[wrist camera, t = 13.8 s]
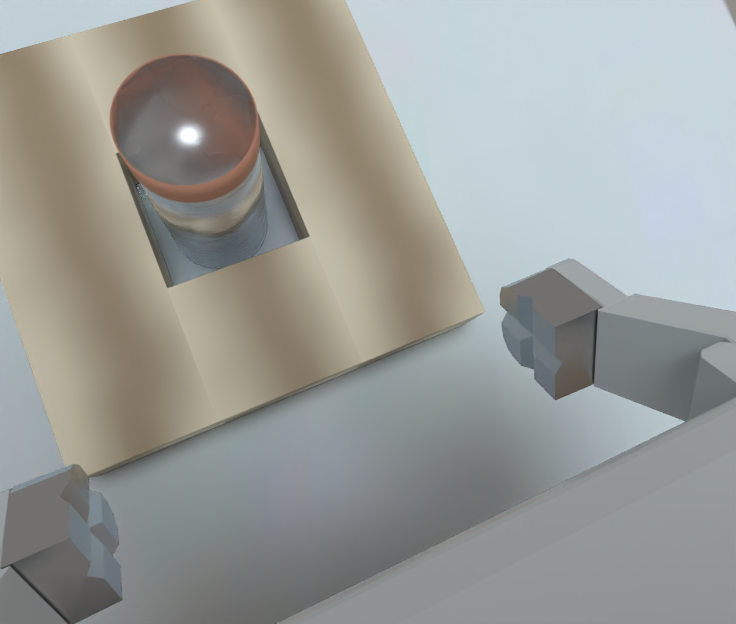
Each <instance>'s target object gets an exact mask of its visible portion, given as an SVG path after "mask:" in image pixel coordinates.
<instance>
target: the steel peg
mask: <svg viewBox="0 0 736 624" xmlns="http://www.w3.org/2000/svg"><path fill="white" fill-rule="evenodd" d="M110 130H111V135H112V138H113V141H114V144H115V146H116V148H117V150H118V152H119V153H120V155H121V156H122V158H123V160H124V161H125V163H126V165H127V166H128V168H129V169H130V171H131V172H132V174H133V175H134V177H135V178H136V179H137V180H138V181H139V183H140V184H141V186H142V188H143V189H144V191H145V193H146V194H147V196H148V198H149V199H150V201H151V203H152V204H153V206H154V207H155V209H156V211H157V212H158V214H159V216H160V217H161V219H162V221H163V222H164V224H165V226H166V227H167V229H168V231H169V232H170V234H171V236H172V237H173V239H174V240H175V242H176V244H177V245H178V247H179V248H180V250H181V251H182V252H183V253H184V255H186V256H187V257H188V258H189V259H191V260H192V261H193V262H195V263H197V264H199V265H202V266H205V267H209V268H216V269H222V268H225V267H228V266H230V265H233V264H236V263H239V262H241V261H244V260H247V259H250V258H251V257H252V256H253V255H254V254H255V253H256V252H257V251H258V250H259V248H260V247H261V245H262V244H263V242H264V239H265V237H266V233H267V212H266V203H265V193H264V184H263V175H262V165H261V156H260V130H259V120H258V112H257V107H256V103H255V101H254V98H253V96H252V94H251V92H250V90H249V88H248V87H247V85H246V84H245V82H244V81H243V80H242V79H241V78H240V77H239V76H238V75H237V74H236V73H235V72H234V71H233V70H231V69H230V68H228V67H227V66H225V65H224V64H222V63H220V62H218V61H216V60H213V59H211V58H208V57H204V56H200V55H194V54H172V55H166V56H162V57H158V58H155V59H153V60H150V61H148V62H146V63H144V64H142V65H141V66H139V67H138V68H136V69H135V70H134V71H133V72H132V73H130V74H129V75H128V76H127V77H126V79H125V80H124V81H123V82H122V83H121V85H120V86H119V88H118V89H117V91H116V94H115V96H114V98H113V101H112V104H111V109H110Z"/></svg>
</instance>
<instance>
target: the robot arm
mask: <svg viewBox="0 0 736 624" xmlns="http://www.w3.org/2000/svg"><path fill="white" fill-rule="evenodd" d="M500 305H501V306H502V307H503V308H504V309H505V310H506V311H507V313H506V315H505V317H504V319H503V321H502V331H503V337H504V340H505V343H506V345H507V348H508V350H509V351H510V353H511V354H512V356H513V357H514V358H515V360H516V361H517V362H518V363H519V364H520V365H521V366H525V367H528V368H532V369H534V379H535V380H536V381H537V382H538V383H539V384H540V385H541V386H542V387H543V388H544V390H545V391H546V392H547V393H548V394H549V395H550V396H551V397H552V398H553V399H554V400H557V399H560V398H562V397H564V396H567V395H569V394H571V393H574V392H576V391H578V390H581V389H583V388H585V387H588V386H590V385H592V384H594V386H595V387H598V388H600V389H603V390H606V391H608V392H611V393H613V394H616V395H618V396H621V397H624V398H626V399H629V400H631V401H634V402H637V403H639V404H642V405H644V406H647V407H650V408H652V409H655V410H657V411H660V412H663V413H665V414H668V415H670V416H673V417H675V418H678V419H681V420H683V421H686V422H684V423H682V424H680V425H678V426H676V427H674V428H672V429H670V430H668V431H666V432H664V433H662V434H660V435H658V436H656V437H654V438H652V439H649V440H647V441H645V442H643V443H641V444H639V445H637V446H635V447H633V448H631V449H629V450H627V451H625V452H623V453H621V454H619V455H617V456H615V457H613V458H611V459H609V460H607V461H605V462H603V463H601V464H599V465H597V466H595V467H593V468H591V469H589V470H586V471H584V472H582V473H580V474H578V475H576V476H574V477H572V478H570V479H568V480H566V481H564V482H562V483H560V484H558V485H556V486H554V487H552V488H550V489H548V490H546V491H544V492H542V493H540V494H538V495H536V496H534V497H532V498H530V499H528V500H526V501H524V502H522V503H520V504H518V505H516V506H514V507H512V508H509V509H507V510H505V511H503V512H501V513H499V514H497V515H495V516H493V517H491V518H489V519H487V520H485V521H483V522H481V523H479V524H477V525H475V526H473V527H471V528H469V529H467V530H465V531H463V532H461V533H459V534H457V535H455V536H453V537H451V538H449V539H447V540H445V541H443V542H441V543H438V544H436V545H434V546H432V547H430V548H428V549H426V550H424V551H422V552H420V553H418V554H416V555H414V556H412V557H410V558H408V559H406V560H404V561H402V562H400V563H398V564H396V565H394V566H392V567H390V568H388V569H386V570H384V571H382V572H380V573H378V574H376V575H373V576H371V577H369V578H367V579H365V580H363V581H361V582H359V583H357V584H355V585H353V586H351V587H349V588H347V589H345V590H343V591H341V592H339V593H337V594H335V595H333V596H331V597H329V598H327V599H325V600H323V601H321V602H319V603H317V604H315V605H313V606H311V607H308V608H306V609H304V610H302V611H300V612H298V613H296V614H294V615H292V616H290V617H288V618H286V619H284V620H282V621H280V622H278V623H276V624H736V312H733V311H728V310H722V309H716V308H711V307H705V306H700V305H694V304H688V303H683V302H677V301H672V300H666V299H660V298H655V297H649V296H644V295H638V294H633V295H631V296H629V297H628V296H626V295H625V294H624V293H622V292H621V291H619V290H618V289H616V288H615V287H614V286H612V285H611V284H609V283H608V282H606V281H605V280H604V279H602V278H601V277H599V276H598V275H596V274H595V273H593V272H592V271H591V270H589V269H588V268H586V267H585V266H583V265H582V264H581V263H579V262H578V261H576V260H574V259H566V260H564V261H562V262H559V263H557V264H555V265H553V266H550V267H548V268H546V269H545V270H542V271H540V272H537V273H535V274H533V275H530V276H528V277H526V278H523V279H521V280H518V281H516V282H514V283H511V284H509V285H507V286H504V287H502V288H501V292H500ZM118 545H119V538H118V529H117V525H116V522H115V518H114V515H113V512H112V510H111V508H110V506H109V504H108V502H107V501H106V499H105V498H104V497H103V495H102V494H101V493H99V492H96V491H92V490H89V476H88V475H87V474H86V473H85V471H84V470H83V469H82V468H81V467H80V465H77V464H72V465H69V466H67V467H64V468H61V469H59V470H56V471H54V472H51V473H49V474H46V475H43V476H41V477H38V478H36V479H33V480H31V481H28V482H25V483H23V484H20V485H18V486H15V487H13V488H12V489H9V490H6V491H4V492H1V493H0V624H75V623H77V622H79V621H81V620H83V619H85V618H87V617H89V616H91V615H93V614H95V613H97V612H99V611H101V610H103V609H105V608H107V607H109V606H111V605H113V604H115V603H118V602H120V601H122V600H123V599H122V583H121V566H120V565H119V563H118V562H117V561H116V559H115V558H114V557H113V556H112V555H113V554H114V552H115V550H116V548H117V546H118Z"/></svg>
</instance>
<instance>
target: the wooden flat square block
mask: <svg viewBox="0 0 736 624" xmlns="http://www.w3.org/2000/svg"><path fill="white" fill-rule="evenodd" d="M172 54H194V55H200V56H204V57H208V58H211V59H213V60H216V61H218V62H220V63H222V64H224V65H225V66H227V67H228V68H230V69H231V70H233V71H234V72H235V73H236V74H237V75H238V76H239V77H240V78H241V79H242V80H243V81H244V82H245V84H246V85H247V87H248V88H249V90H250V92H251V94H252V96H253V98H254V101H255V103H256V107H257V112H258V120H259V130H260V145H261V147H262V150H263V152H264V154H265V157H266V159H267V162H268V164H269V166H270V169H271V171H272V174H273V176H274V178H275V181H276V183H277V186H278V188H279V190H280V193H281V195H282V198H283V200H284V203H285V205H286V207H287V210H288V212H289V215H290V217H291V219H292V222H293V224H294V227H295V229H296V231H297V234H298V236H299V239H300V240H299V241H296V242H294V243H291V244H288V245H285V246H283V247H280V248H277V249H274V250H272V251H269V252H266V253H263V254H261V255H258V256H255V257H252V258H250V259H247V260H244V261H241V262H239V263H236V264H233V265H230V266H228V267H225V268H222V269H219V270H216V271H214V272H211V273H208V274H205V275H203V276H200V277H197V278H194V279H192V280H189V281H186V282H183V283H181V284H178V285H175V286H174V285H173V282H172V280H171V277H170V275H169V272H168V269H167V267H166V264H165V261H164V259H163V256H162V254H161V251H160V248H159V246H158V243H157V241H156V238H155V235H154V233H153V230H152V227H151V225H150V222H149V220H148V217H147V214H146V212H145V209H144V207H143V204H142V201H141V199H140V196H139V193H138V191H137V188H136V186H135V184H138V183H139V181H138V180H137V179H136V178H135V177H134V175H133V174H132V172H131V171H130V169H129V168H128V166H127V165H126V163H125V161H124V160H123V158H122V156H121V155H120V153H119V152H118V150H117V148H116V146H115V144H114V141H113V138H112V135H111V130H110V109H111V104H112V101H113V98H114V96H115V94H116V91H117V89H118V88H119V86H120V85H121V83H122V82H123V81H124V80H125V79H126V77H127V76H128V75H129V74H130V73H132V72H133V71H134V70H135V69H136V68H138V67H139V66H141V65H142V64H144V63H146V62H148V61H150V60H153V59H155V58H158V57H162V56H166V55H172ZM0 279H1V282H2V285H3V288H4V291H5V294H6V297H7V300H8V302H9V305H10V308H11V311H12V314H13V317H14V320H15V323H16V326H17V329H18V332H19V334H20V337H21V340H22V343H23V346H24V349H25V352H26V355H27V358H28V361H29V364H30V366H31V369H32V372H33V375H34V378H35V381H36V384H37V387H38V390H39V393H40V396H41V398H42V401H43V404H44V407H45V410H46V413H47V416H48V419H49V422H50V425H51V428H52V430H53V433H54V436H55V439H56V442H57V445H58V448H59V451H60V454H61V457H62V460H63V462H64V465H65V467H67V466H69V465H72V464H77V465H80V467H81V468H82V469H83V470H84V471H85V473H86V474H87V475H88V476H89V478H91V477H95V476H98V475H101V474H103V473H106V472H108V471H111V470H113V469H115V468H118V467H120V466H123V465H125V464H127V463H130V462H132V461H135V460H137V459H140V458H142V457H144V456H147V455H149V454H152V453H154V452H157V451H159V450H161V449H164V448H166V447H169V446H171V445H174V444H176V443H178V442H181V441H183V440H186V439H188V438H190V437H193V436H195V435H198V434H200V433H203V432H205V431H207V430H210V429H212V428H215V427H217V426H220V425H222V424H224V423H227V422H229V421H232V420H234V419H236V418H239V417H241V416H244V415H246V414H249V413H251V412H253V411H256V410H258V409H261V408H263V407H266V406H268V405H270V404H273V403H275V402H278V401H280V400H283V399H285V398H287V397H290V396H292V395H295V394H297V393H299V392H302V391H304V390H307V389H309V388H312V387H314V386H316V385H319V384H321V383H324V382H326V381H329V380H331V379H333V378H336V377H338V376H341V375H343V374H345V373H348V372H350V371H353V370H355V369H358V368H360V367H362V366H365V365H367V364H370V363H372V362H375V361H377V360H379V359H382V358H384V357H387V356H389V355H392V354H394V353H396V352H399V351H401V350H404V349H406V348H408V347H411V346H413V345H416V344H418V343H421V342H423V341H425V340H428V339H430V338H433V337H435V336H438V335H440V334H442V333H445V332H447V331H450V330H452V329H454V328H457V327H459V326H462V325H464V324H466V323H467V322H469V321H471V320H472V319H474V318H476V317H477V316H479V315H481V314H482V313H484V312H485V310H484V308H483V306H482V303H481V301H480V299H479V297H478V295H477V292H476V290H475V288H474V286H473V283H472V281H471V279H470V277H469V275H468V272H467V270H466V268H465V266H464V263H463V261H462V259H461V257H460V255H459V252H458V250H457V248H456V246H455V243H454V241H453V239H452V237H451V235H450V232H449V230H448V228H447V226H446V223H445V221H444V219H443V217H442V215H441V212H440V210H439V208H438V206H437V203H436V201H435V199H434V197H433V195H432V192H431V190H430V188H429V186H428V183H427V181H426V179H425V177H424V175H423V172H422V170H421V168H420V166H419V163H418V161H417V159H416V157H415V155H414V152H413V150H412V148H411V146H410V143H409V141H408V139H407V137H406V135H405V132H404V130H403V128H402V126H401V123H400V121H399V119H398V117H397V115H396V112H395V110H394V108H393V106H392V103H391V101H390V99H389V97H388V95H387V92H386V90H385V88H384V86H383V83H382V81H381V79H380V77H379V75H378V72H377V70H376V68H375V66H374V63H373V61H372V59H371V57H370V55H369V52H368V50H367V48H366V46H365V43H364V41H363V39H362V37H361V35H360V32H359V30H358V28H357V26H356V23H355V21H354V19H353V17H352V15H351V12H350V10H349V8H348V6H347V3H346V1H345V0H196V1H192V2H189V3H185V4H181V5H178V6H174V7H170V8H167V9H163V10H159V11H156V12H152V13H148V14H145V15H141V16H138V17H134V18H130V19H127V20H123V21H119V22H116V23H112V24H108V25H105V26H101V27H98V28H94V29H90V30H87V31H83V32H79V33H76V34H72V35H68V36H65V37H61V38H57V39H54V40H50V41H47V42H43V43H39V44H36V45H32V46H28V47H25V48H21V49H17V50H14V51H10V52H7V53H3V54H0Z"/></svg>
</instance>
